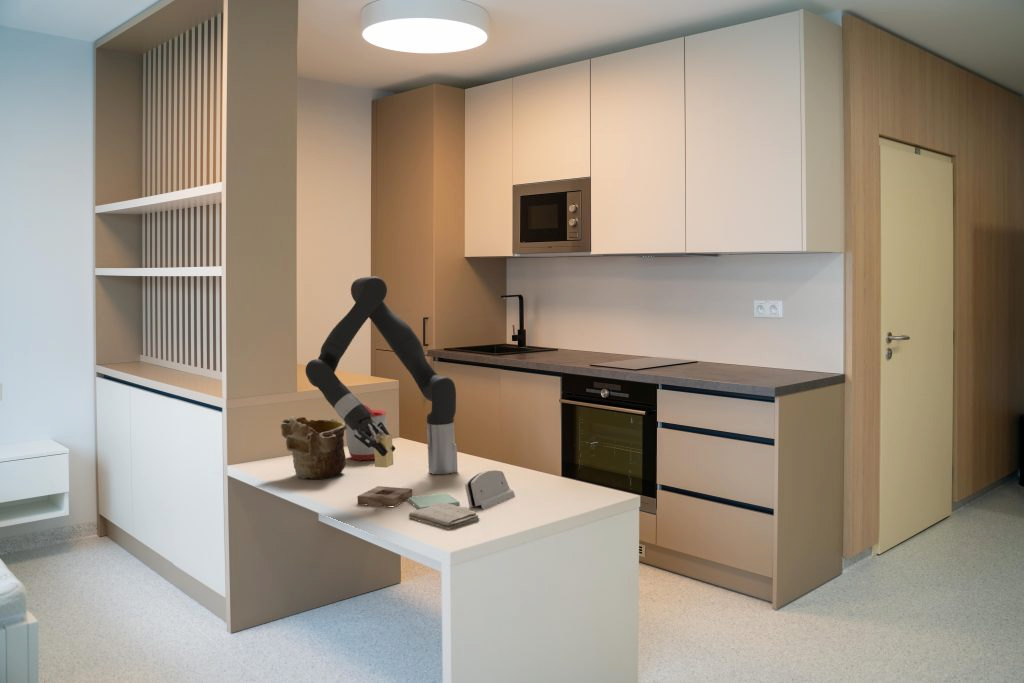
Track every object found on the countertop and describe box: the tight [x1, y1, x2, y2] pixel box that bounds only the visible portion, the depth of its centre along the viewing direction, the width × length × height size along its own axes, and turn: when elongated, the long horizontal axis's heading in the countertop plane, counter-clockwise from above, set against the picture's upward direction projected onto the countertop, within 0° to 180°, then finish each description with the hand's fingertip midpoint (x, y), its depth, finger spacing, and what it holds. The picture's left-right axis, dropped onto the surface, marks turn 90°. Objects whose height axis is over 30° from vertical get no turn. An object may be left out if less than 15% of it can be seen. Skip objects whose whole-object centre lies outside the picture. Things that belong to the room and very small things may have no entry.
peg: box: [374, 434, 394, 468], centre depth 248 cm, size 4×4×9 cm
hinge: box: [464, 469, 516, 510], centre depth 245 cm, size 17×5×10 cm, turn 145°
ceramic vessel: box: [280, 415, 347, 480], centre depth 283 cm, size 23×24×25 cm
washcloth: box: [408, 502, 480, 531], centre depth 228 cm, size 12×18×3 cm, turn 47°
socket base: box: [357, 485, 414, 507], centre depth 249 cm, size 12×12×2 cm
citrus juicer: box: [343, 404, 387, 461], centre depth 309 cm, size 16×17×20 cm
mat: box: [407, 492, 461, 509], centre depth 245 cm, size 12×12×1 cm
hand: (389, 452), depth 247 cm, fingers closed on peg, 4 cm apart
